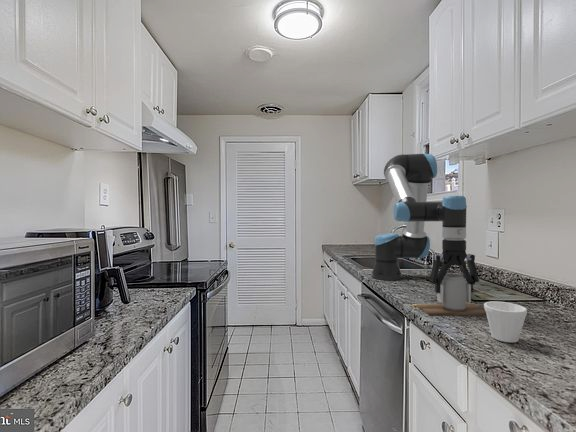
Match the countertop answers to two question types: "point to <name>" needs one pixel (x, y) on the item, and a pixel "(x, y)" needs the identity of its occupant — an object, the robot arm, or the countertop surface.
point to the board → (441, 310)
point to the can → (454, 292)
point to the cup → (505, 320)
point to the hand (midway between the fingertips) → (453, 301)
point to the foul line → (417, 304)
